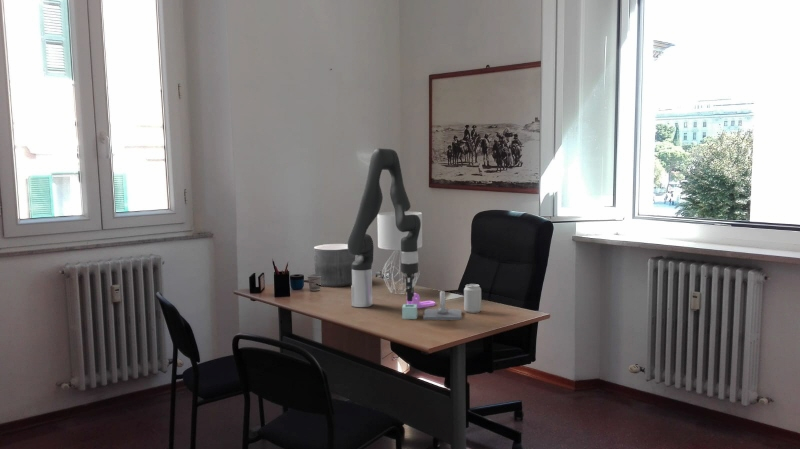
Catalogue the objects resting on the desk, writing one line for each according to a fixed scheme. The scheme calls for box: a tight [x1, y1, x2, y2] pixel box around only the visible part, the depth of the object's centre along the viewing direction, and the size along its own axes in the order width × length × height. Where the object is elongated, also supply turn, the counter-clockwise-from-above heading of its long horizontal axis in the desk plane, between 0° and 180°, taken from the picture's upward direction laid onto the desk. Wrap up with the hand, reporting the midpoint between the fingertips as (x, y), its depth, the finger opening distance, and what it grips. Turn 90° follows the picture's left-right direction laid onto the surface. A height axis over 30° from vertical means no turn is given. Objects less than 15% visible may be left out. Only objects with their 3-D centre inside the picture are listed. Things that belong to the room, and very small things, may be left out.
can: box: [463, 283, 482, 314], centre depth 290 cm, size 8×8×12 cm
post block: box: [422, 290, 462, 321], centre depth 283 cm, size 16×14×10 cm
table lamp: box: [376, 210, 423, 295], centre depth 332 cm, size 22×22×40 cm
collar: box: [401, 303, 418, 320], centre depth 282 cm, size 6×6×5 cm
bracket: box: [406, 292, 436, 309], centre depth 302 cm, size 13×6×7 cm, turn 117°
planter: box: [313, 243, 356, 288], centre depth 357 cm, size 22×22×20 cm
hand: (410, 298), depth 281 cm, fingers open, 8 cm apart
